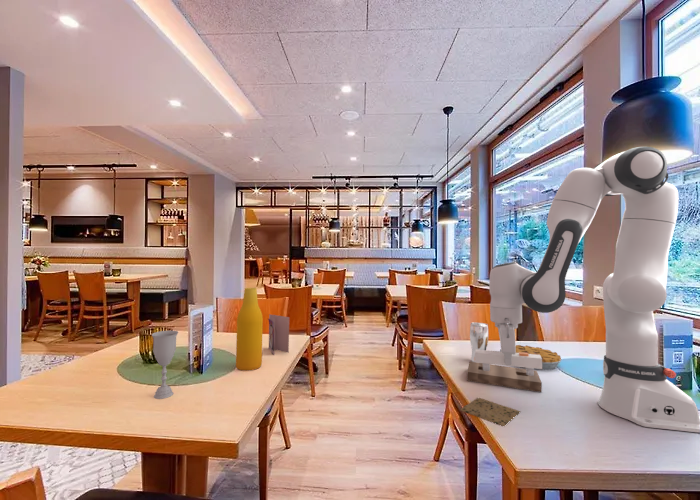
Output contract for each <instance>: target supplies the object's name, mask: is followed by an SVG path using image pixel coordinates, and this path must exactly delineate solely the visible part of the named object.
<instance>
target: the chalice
mask: <svg viewBox="0 0 700 500" xmlns="http://www.w3.org/2000/svg"><path fill="white" fill-rule="evenodd" d="M178 334H179V331H178V330H160V331H156V332H153V333H152V334H151V336H152V338H153V350H152V352H153V354H154V357H155V360H156V361H157V363H158V365H159V366H161V367H162V371H160V373H161V374H162V377H161V378H160V380H161V385H160V386H158V387H157V388H156V391H155V392H154V395H153V398H154V399H157V400H161V399H167V398H169V397H171V396H173V395H174V392H173V389H172V387H171V386H170V385H167V383H166V381H167V379H168V377H167V373H168V370H167V365H170V364H171V362H172V360H173V358H174V355H175V352H176V350H177V336H178Z"/></svg>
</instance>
